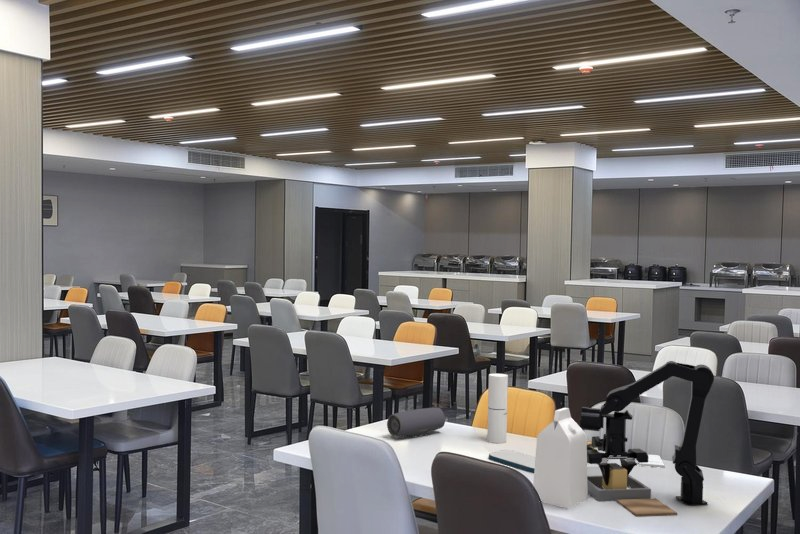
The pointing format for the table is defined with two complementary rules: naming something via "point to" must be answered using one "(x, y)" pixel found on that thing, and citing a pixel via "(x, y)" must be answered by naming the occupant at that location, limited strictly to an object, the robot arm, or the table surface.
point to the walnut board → (646, 507)
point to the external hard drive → (514, 459)
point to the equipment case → (635, 492)
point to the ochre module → (616, 477)
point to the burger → (590, 446)
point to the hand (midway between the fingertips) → (614, 484)
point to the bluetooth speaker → (415, 422)
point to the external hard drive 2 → (654, 461)
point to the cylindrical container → (497, 408)
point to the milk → (561, 462)
